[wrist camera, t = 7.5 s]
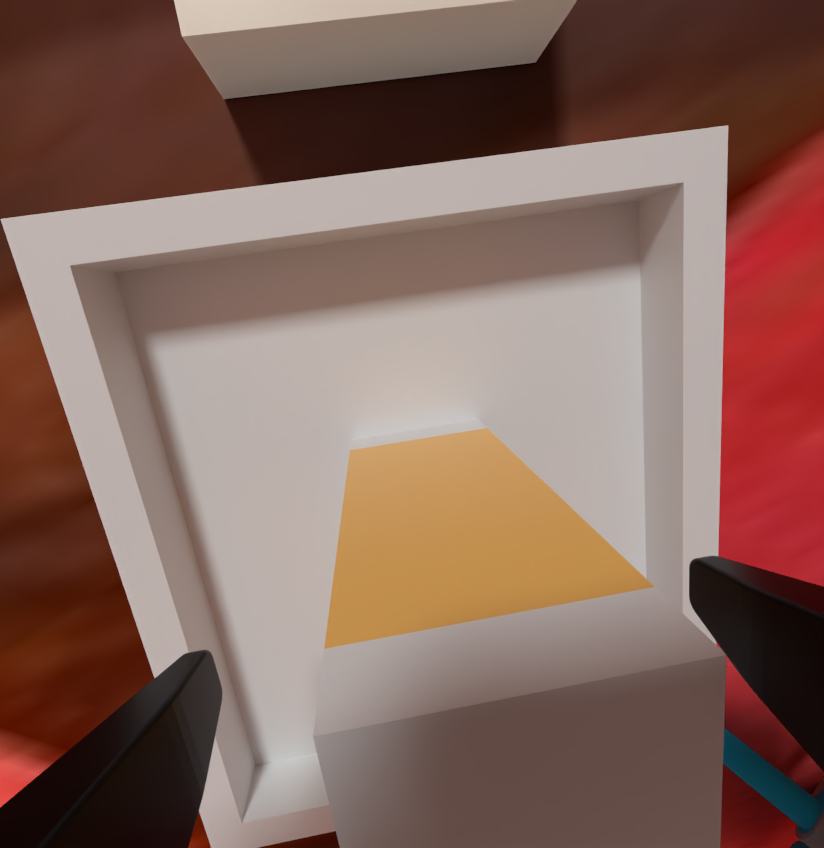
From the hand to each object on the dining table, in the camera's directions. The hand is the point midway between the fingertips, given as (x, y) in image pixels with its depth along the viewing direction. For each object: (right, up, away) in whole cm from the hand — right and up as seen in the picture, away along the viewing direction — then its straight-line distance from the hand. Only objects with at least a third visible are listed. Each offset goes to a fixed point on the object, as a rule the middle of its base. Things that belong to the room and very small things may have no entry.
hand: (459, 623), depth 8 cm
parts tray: (-1, +1, +5) cm, 5 cm away
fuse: (0, +1, +5) cm, 5 cm away
